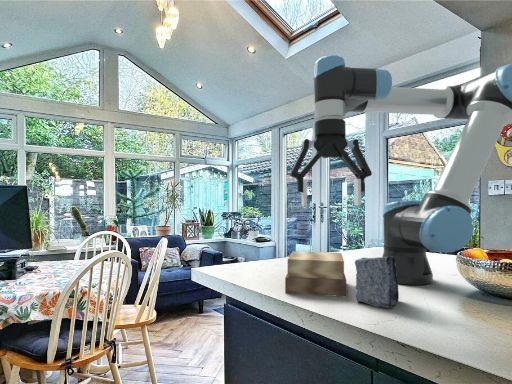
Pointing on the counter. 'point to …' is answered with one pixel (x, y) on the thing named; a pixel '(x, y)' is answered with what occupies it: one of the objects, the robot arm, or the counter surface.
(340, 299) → the counter surface
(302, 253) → the tower top
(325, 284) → the tower base
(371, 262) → the stone
